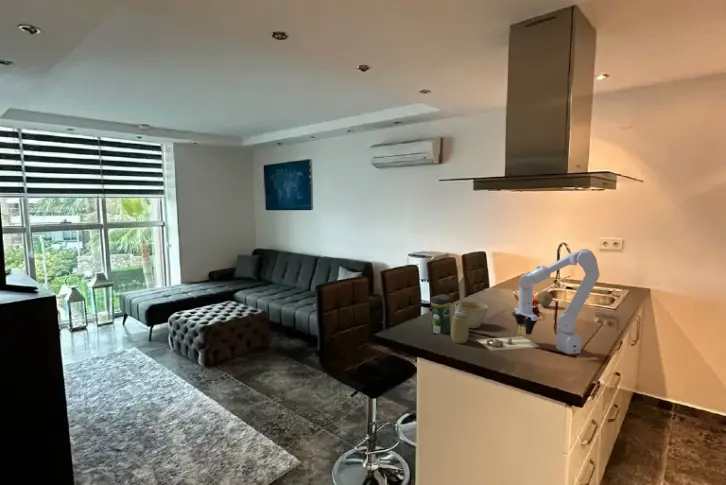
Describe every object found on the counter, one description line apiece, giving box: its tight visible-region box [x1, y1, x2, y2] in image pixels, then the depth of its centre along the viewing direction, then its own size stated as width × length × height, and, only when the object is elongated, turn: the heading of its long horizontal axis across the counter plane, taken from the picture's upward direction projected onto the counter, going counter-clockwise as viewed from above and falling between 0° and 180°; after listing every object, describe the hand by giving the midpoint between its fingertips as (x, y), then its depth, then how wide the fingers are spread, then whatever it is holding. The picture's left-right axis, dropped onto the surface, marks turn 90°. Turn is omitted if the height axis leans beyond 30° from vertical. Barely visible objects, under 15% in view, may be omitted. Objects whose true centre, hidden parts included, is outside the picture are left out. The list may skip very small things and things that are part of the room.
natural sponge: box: [536, 290, 554, 308], centre depth 242 cm, size 9×9×10 cm
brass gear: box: [517, 324, 533, 336], centre depth 178 cm, size 6×6×4 cm
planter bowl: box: [454, 301, 489, 329], centre depth 207 cm, size 16×16×11 cm
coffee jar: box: [430, 293, 451, 335], centre depth 197 cm, size 10×8×19 cm
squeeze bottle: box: [450, 304, 470, 344], centre depth 181 cm, size 8×8×18 cm
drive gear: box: [487, 338, 503, 348], centre depth 176 cm, size 7×7×2 cm
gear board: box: [476, 335, 541, 352], centre depth 179 cm, size 14×23×4 cm, turn 100°
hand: (524, 332), depth 178 cm, fingers closed on brass gear, 5 cm apart
